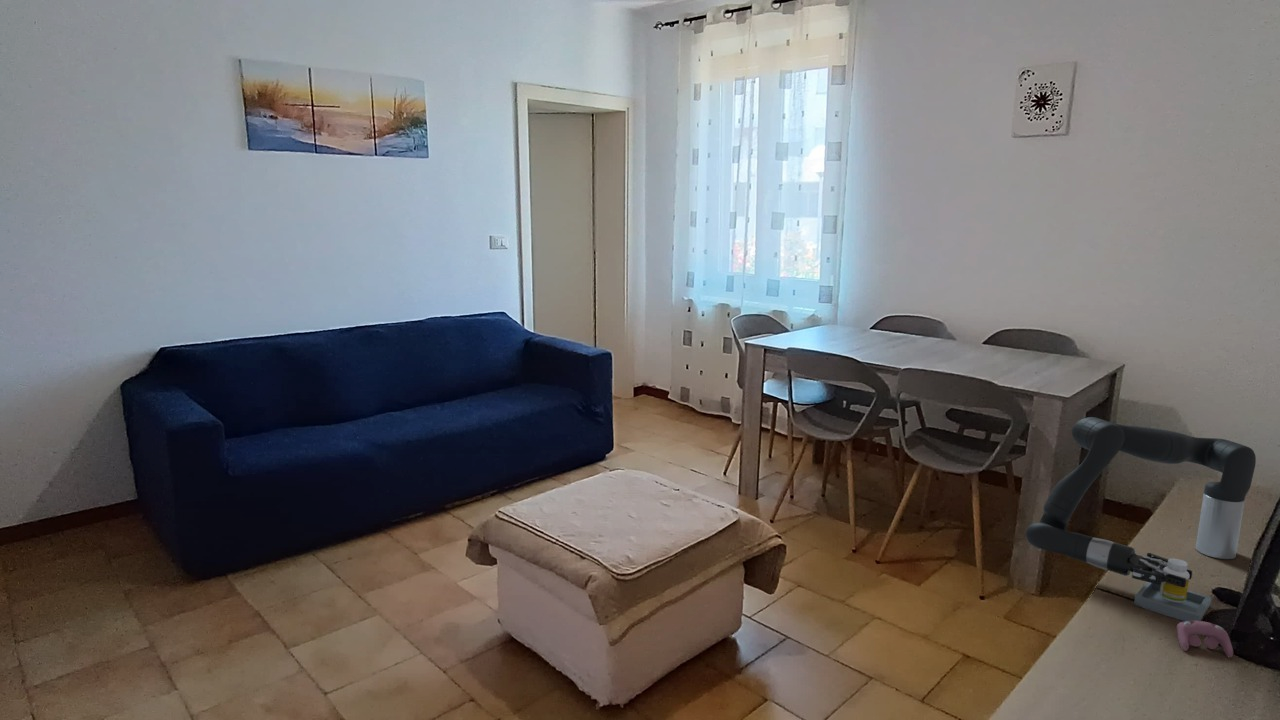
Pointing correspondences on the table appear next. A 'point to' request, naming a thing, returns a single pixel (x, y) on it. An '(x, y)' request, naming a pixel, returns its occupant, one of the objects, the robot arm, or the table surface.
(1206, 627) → the video game controller
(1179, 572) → the supplement bottle
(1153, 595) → the tray
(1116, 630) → the table surface
